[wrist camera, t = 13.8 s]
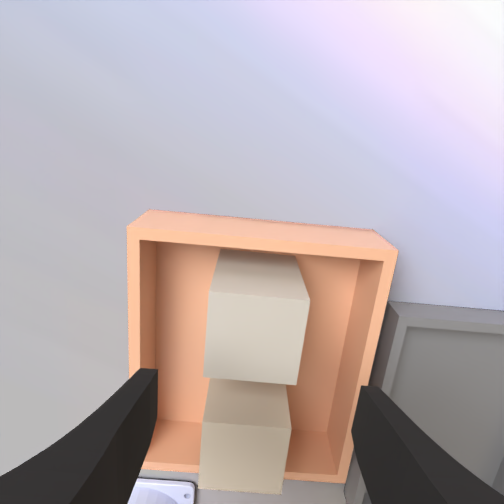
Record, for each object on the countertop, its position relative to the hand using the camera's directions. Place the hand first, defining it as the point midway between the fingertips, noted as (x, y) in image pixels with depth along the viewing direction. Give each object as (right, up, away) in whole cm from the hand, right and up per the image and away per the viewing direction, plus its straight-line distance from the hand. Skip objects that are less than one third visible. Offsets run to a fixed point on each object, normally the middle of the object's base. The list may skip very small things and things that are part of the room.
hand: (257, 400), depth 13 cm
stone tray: (+13, -6, +13) cm, 19 cm away
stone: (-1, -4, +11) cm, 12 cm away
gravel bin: (0, 0, +11) cm, 11 cm away
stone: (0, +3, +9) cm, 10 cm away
